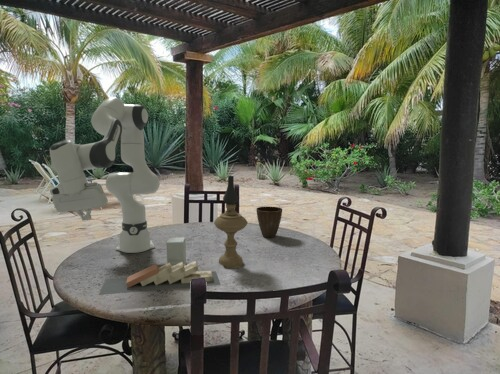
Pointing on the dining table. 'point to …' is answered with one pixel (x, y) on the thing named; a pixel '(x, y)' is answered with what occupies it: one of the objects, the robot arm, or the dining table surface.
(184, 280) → the domino
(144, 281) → the domino
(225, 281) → the dining table surface
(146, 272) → the domino
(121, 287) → the mat
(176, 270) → the domino
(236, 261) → the oil lamp
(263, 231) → the plant pot
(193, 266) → the domino
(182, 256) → the supplement box
